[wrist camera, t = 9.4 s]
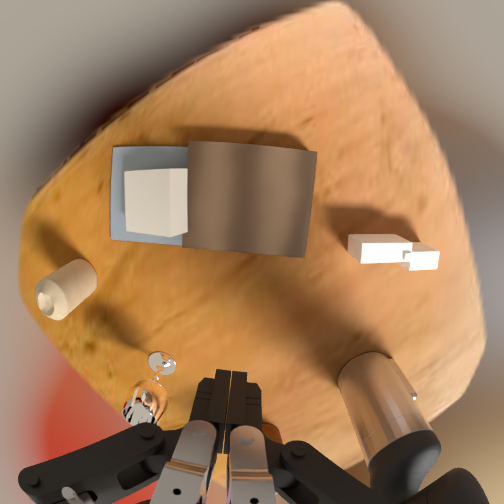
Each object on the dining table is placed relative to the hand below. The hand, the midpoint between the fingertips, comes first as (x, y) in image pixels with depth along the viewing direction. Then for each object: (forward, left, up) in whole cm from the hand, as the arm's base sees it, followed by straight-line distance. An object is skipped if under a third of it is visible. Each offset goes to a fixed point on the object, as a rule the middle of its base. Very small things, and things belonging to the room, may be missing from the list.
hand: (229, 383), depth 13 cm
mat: (+12, -6, -24) cm, 27 cm away
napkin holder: (-19, -2, -24) cm, 31 cm away
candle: (+23, +6, -24) cm, 33 cm away
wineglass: (+11, +19, -24) cm, 32 cm away
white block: (+10, -6, -22) cm, 24 cm away
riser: (0, -7, -24) cm, 24 cm away
